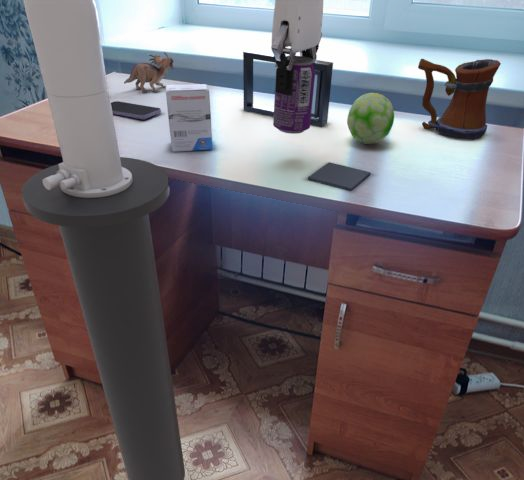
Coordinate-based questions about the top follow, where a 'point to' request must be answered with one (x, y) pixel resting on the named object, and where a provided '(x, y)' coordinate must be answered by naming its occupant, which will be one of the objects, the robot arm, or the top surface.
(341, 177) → the coaster
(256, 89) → the top surface
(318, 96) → the sash
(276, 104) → the beverage can
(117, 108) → the smartphone
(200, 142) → the ink box
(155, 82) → the dinosaur figurine
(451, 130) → the mug
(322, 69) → the window frame
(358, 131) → the decorative ball
